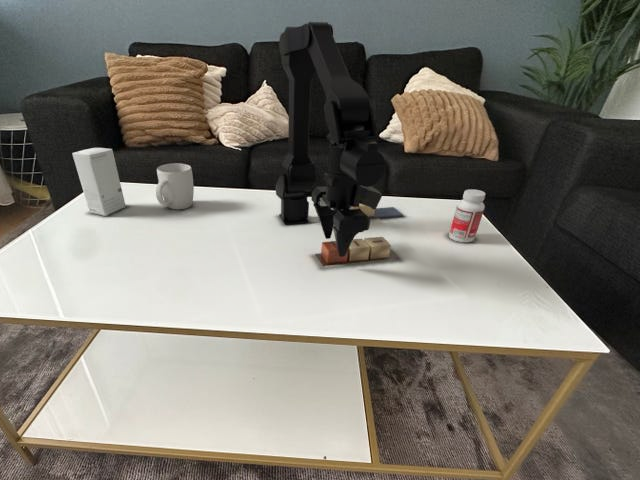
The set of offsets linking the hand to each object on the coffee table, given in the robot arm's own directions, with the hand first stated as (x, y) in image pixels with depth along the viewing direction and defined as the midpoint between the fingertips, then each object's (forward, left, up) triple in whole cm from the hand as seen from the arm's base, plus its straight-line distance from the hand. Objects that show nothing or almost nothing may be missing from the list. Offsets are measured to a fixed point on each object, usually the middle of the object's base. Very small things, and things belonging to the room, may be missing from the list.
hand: (334, 247), depth 88 cm
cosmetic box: (-51, +42, -3) cm, 66 cm away
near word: (+5, 0, -3) cm, 6 cm away
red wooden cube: (0, 0, -3) cm, 3 cm away
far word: (+18, +24, -3) cm, 30 cm away
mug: (-33, +40, -3) cm, 52 cm away
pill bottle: (+35, +5, -3) cm, 36 cm away
